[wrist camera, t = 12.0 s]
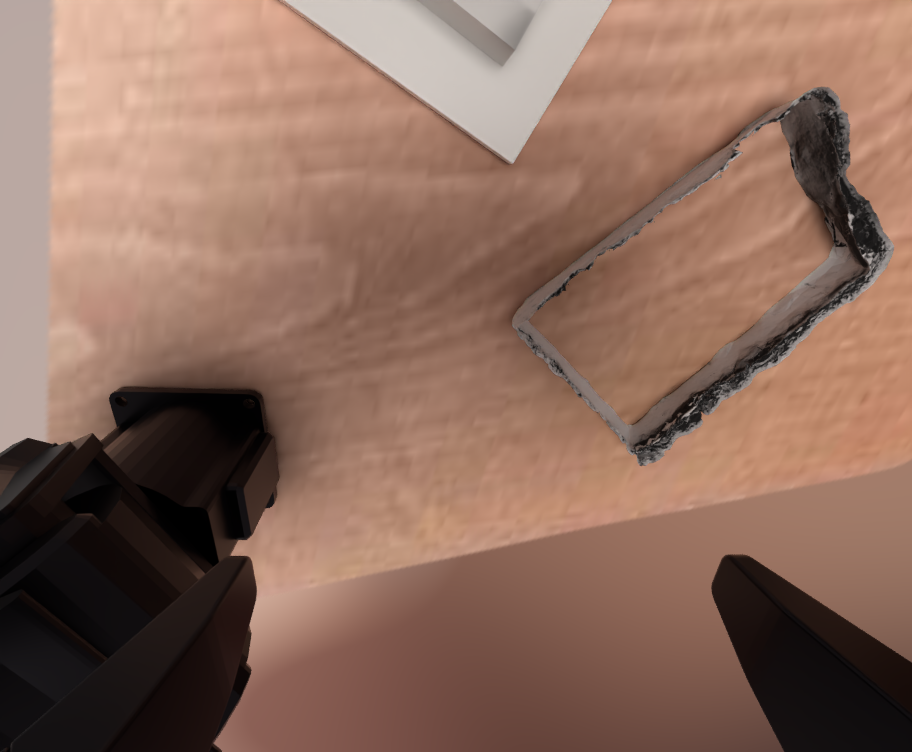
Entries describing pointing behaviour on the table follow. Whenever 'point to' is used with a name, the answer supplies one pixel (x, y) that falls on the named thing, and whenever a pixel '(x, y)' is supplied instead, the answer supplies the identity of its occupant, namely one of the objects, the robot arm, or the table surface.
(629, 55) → the table surface
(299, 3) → the white recessed tray
